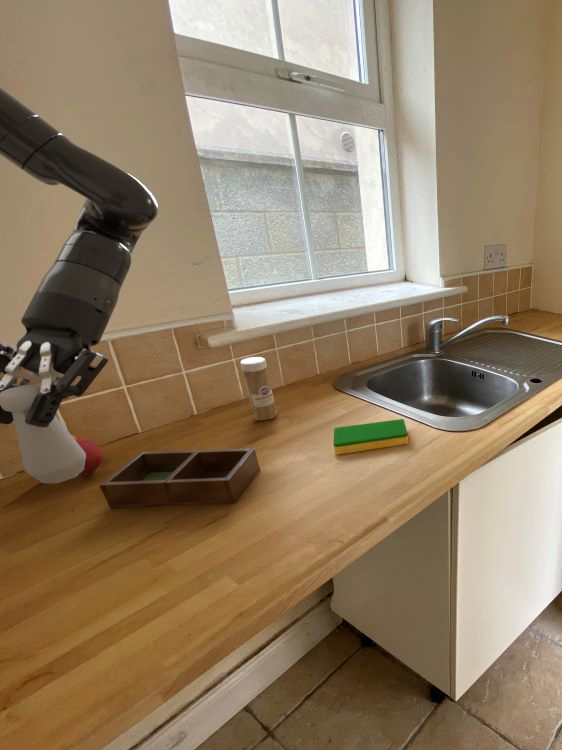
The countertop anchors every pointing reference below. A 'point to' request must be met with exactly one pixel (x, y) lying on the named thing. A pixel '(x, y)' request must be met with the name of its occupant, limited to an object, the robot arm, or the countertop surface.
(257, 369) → the sprinkles bottle
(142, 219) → the robot arm
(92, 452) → the onion
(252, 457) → the divided wooden tray
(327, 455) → the countertop surface
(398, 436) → the dish sponge
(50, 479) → the salt shaker
